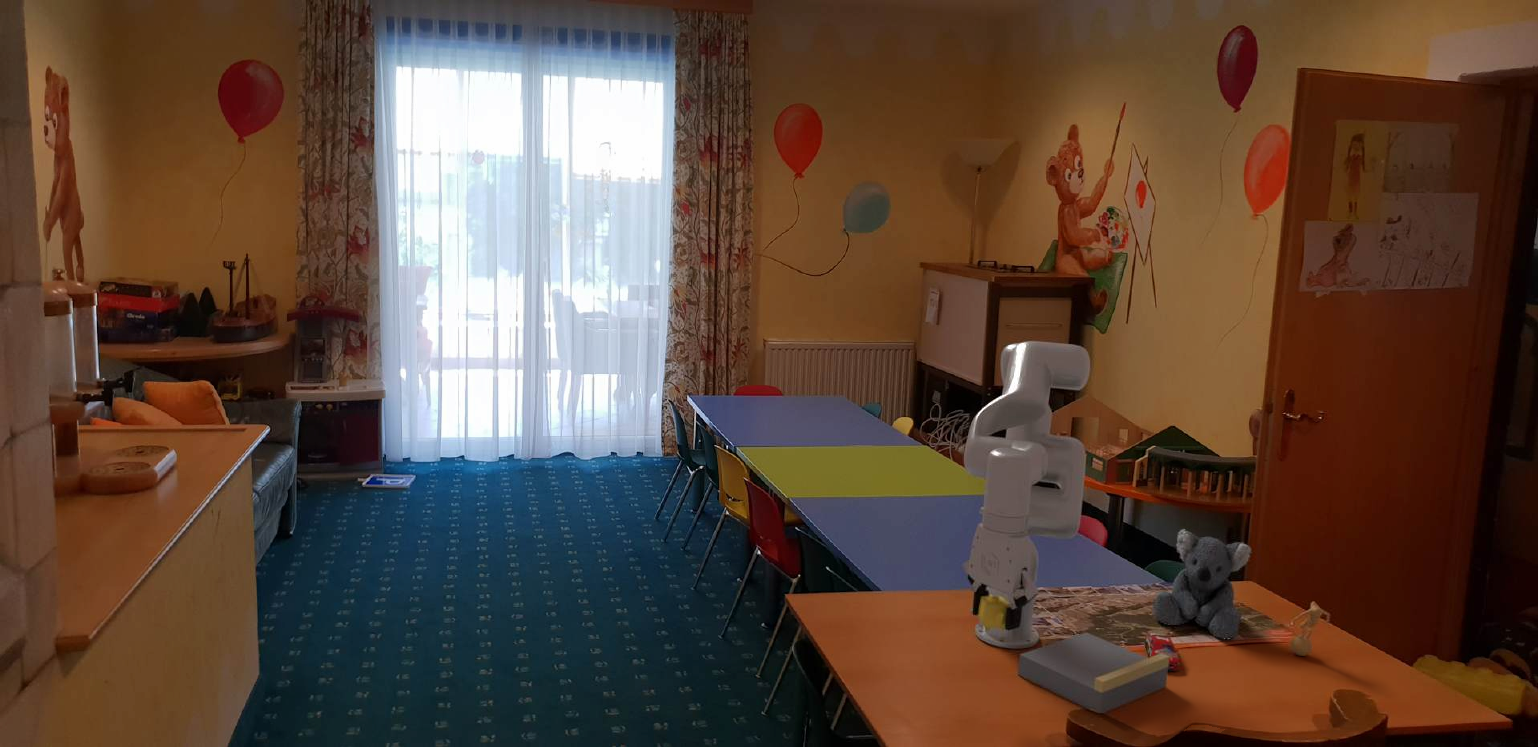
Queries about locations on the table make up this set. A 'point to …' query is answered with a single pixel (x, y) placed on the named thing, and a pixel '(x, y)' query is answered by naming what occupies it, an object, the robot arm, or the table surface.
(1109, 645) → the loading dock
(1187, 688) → the table surface
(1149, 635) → the race car
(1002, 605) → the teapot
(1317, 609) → the figurine
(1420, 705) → the table surface
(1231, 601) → the koala plush
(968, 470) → the robot arm
